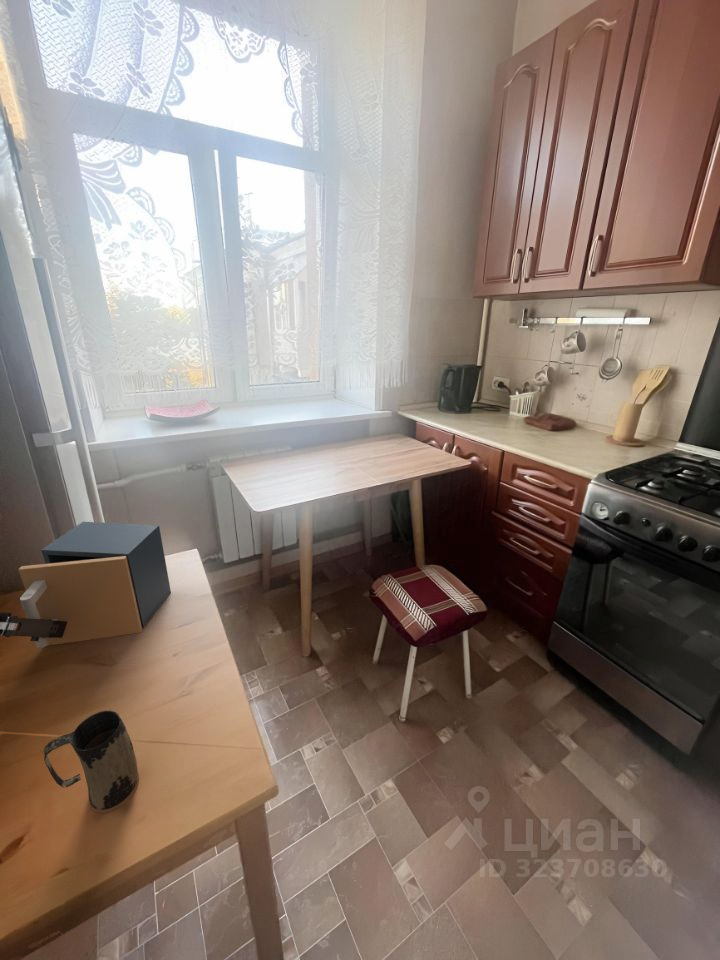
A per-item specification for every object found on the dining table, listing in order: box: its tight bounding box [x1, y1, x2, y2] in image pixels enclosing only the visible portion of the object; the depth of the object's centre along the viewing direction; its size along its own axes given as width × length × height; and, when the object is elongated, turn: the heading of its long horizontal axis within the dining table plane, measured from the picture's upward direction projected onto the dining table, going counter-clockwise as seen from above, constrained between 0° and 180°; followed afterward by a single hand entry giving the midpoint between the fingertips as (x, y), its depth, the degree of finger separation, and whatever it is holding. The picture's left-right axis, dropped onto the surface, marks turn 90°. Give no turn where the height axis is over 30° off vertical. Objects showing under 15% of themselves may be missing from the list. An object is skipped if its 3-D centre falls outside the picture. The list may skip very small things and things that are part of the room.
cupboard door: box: [18, 556, 143, 649], centre depth 69 cm, size 6×16×17 cm, turn 104°
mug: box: [43, 710, 140, 814], centre depth 48 cm, size 8×6×12 cm
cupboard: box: [41, 521, 172, 629], centre depth 79 cm, size 11×16×17 cm
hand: (51, 628), depth 69 cm, fingers open, 3 cm apart
